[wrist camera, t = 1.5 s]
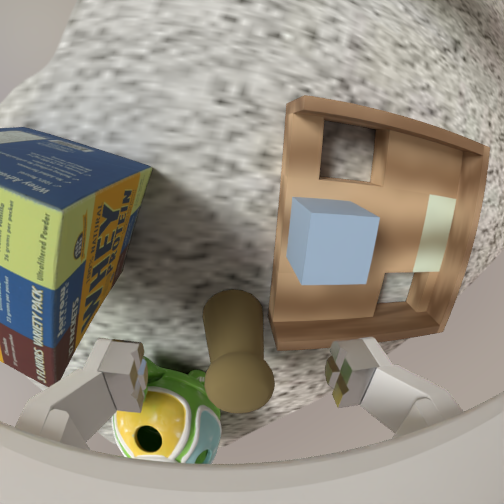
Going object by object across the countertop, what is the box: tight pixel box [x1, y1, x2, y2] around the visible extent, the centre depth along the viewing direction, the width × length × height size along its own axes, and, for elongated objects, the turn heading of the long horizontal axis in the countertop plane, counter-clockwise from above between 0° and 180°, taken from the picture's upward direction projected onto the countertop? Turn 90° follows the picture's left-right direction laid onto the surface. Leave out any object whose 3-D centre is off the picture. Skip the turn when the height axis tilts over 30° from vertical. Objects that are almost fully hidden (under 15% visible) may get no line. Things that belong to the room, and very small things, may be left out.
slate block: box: [286, 197, 380, 285], centre depth 21 cm, size 5×5×5 cm
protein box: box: [0, 127, 152, 387], centre depth 16 cm, size 10×15×16 cm
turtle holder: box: [111, 356, 222, 464], centre depth 26 cm, size 12×18×12 cm
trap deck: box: [268, 95, 490, 351], centre depth 24 cm, size 20×19×6 cm
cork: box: [203, 289, 275, 413], centre depth 24 cm, size 6×6×11 cm
